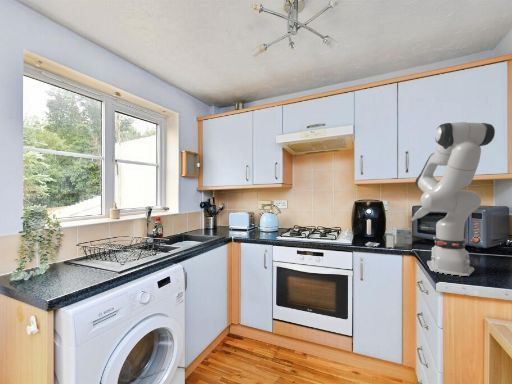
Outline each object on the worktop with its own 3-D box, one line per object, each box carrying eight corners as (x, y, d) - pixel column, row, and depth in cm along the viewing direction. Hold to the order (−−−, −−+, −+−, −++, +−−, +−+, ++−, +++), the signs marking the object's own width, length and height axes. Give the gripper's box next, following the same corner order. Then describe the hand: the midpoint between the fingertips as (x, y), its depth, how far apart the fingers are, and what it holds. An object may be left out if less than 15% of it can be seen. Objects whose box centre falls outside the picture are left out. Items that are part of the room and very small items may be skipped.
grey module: (393, 248, 163) (393, 235, 163) (386, 247, 165) (386, 235, 165) (394, 246, 166) (394, 234, 166) (388, 246, 169) (388, 234, 169)
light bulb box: (407, 242, 179) (407, 227, 179) (412, 244, 173) (412, 229, 172) (392, 242, 180) (392, 227, 180) (396, 244, 174) (396, 229, 173)
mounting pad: (376, 246, 168) (376, 245, 168) (365, 245, 172) (365, 244, 172) (379, 244, 174) (379, 243, 174) (369, 242, 179) (368, 242, 179)
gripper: (428, 199, 161) (410, 213, 167) (424, 202, 145) (405, 217, 152) (436, 206, 158) (418, 220, 165) (434, 210, 142) (414, 225, 149)
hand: (412, 219), depth 158 cm, fingers open, 8 cm apart
